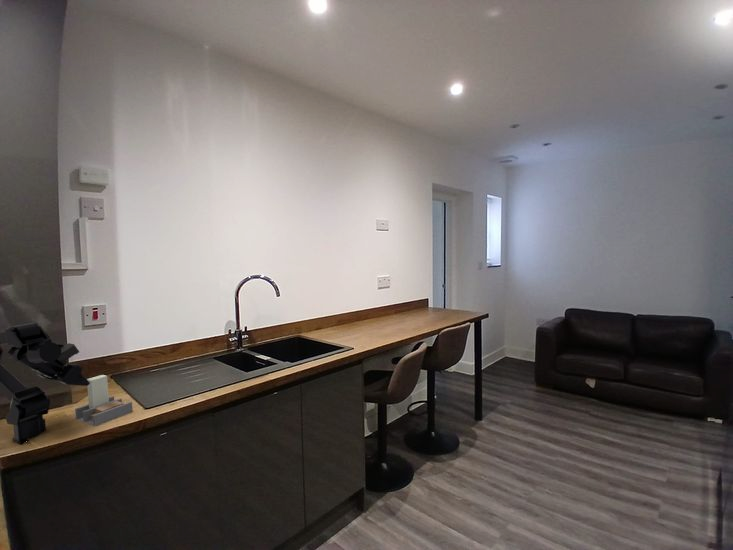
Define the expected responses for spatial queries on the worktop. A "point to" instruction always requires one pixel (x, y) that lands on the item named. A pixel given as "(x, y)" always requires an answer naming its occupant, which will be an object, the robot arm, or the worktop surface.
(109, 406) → the offcuts
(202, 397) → the worktop surface
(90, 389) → the pale upright slab
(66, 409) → the worktop surface
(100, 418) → the rack
